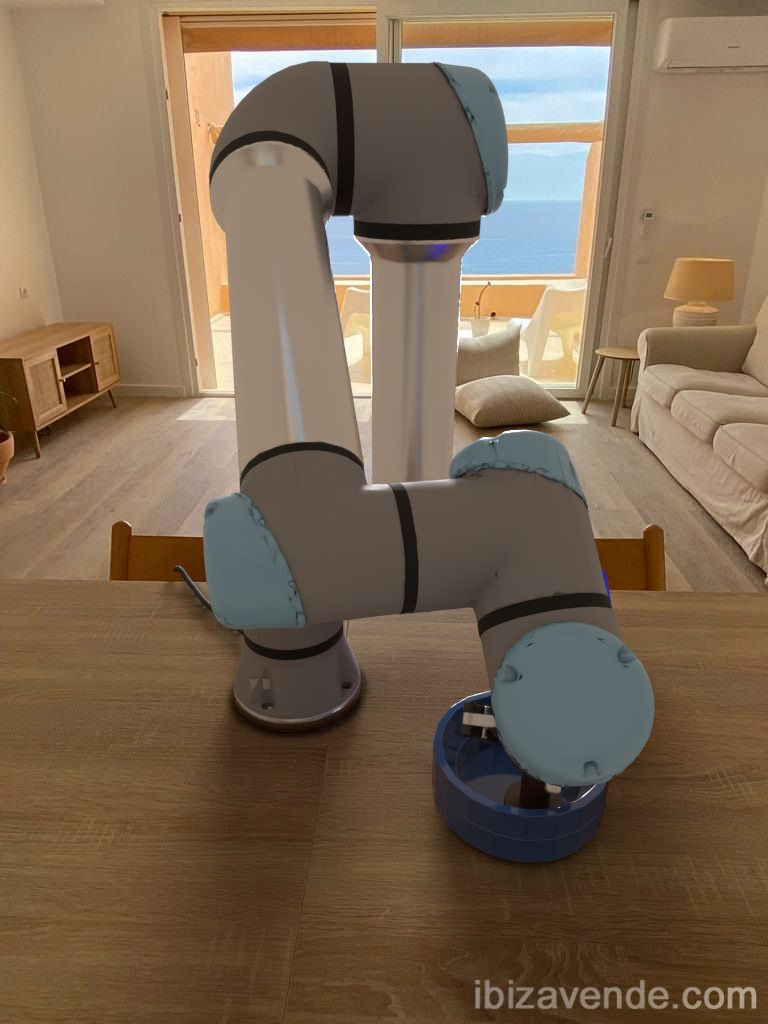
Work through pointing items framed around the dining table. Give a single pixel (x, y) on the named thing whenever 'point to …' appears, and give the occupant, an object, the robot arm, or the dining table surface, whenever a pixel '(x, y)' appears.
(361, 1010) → the dining table surface
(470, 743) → the bowl
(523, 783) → the muddler
